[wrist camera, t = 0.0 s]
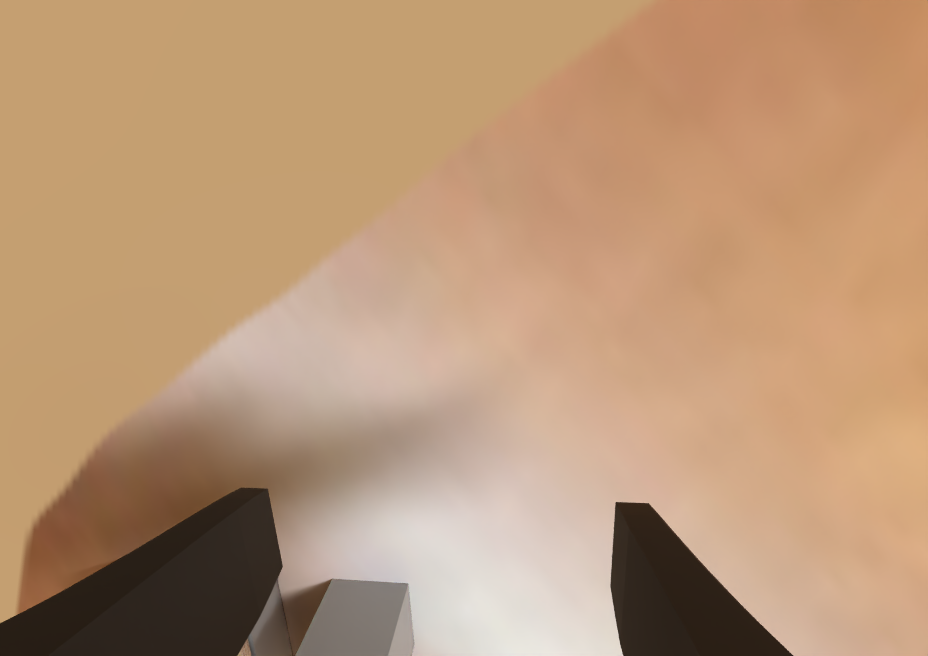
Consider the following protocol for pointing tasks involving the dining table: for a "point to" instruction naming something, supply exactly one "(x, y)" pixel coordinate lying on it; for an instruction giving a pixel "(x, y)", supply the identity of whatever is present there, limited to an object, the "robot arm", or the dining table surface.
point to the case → (271, 629)
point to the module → (361, 621)
